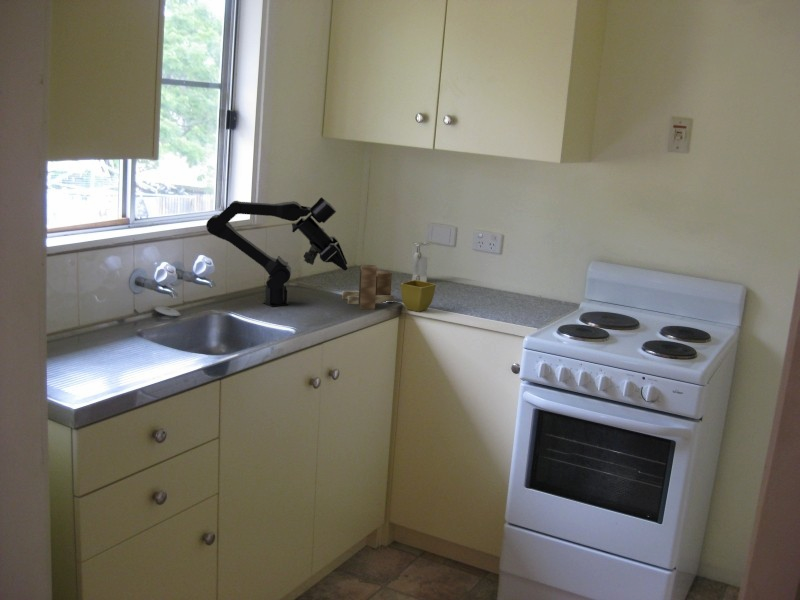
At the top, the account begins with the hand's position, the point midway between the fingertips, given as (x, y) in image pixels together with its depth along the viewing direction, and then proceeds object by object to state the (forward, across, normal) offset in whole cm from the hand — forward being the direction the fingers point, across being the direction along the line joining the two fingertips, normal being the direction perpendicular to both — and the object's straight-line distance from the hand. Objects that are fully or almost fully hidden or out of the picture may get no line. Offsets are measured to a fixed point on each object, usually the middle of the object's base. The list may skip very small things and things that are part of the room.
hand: (346, 267), depth 295 cm
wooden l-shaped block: (+15, -10, -4) cm, 18 cm away
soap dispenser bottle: (+30, -45, +11) cm, 55 cm away
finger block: (+15, 0, -4) cm, 15 cm away
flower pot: (+27, +1, +7) cm, 28 cm away
